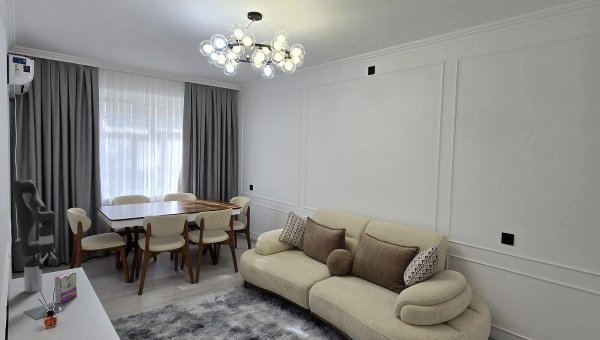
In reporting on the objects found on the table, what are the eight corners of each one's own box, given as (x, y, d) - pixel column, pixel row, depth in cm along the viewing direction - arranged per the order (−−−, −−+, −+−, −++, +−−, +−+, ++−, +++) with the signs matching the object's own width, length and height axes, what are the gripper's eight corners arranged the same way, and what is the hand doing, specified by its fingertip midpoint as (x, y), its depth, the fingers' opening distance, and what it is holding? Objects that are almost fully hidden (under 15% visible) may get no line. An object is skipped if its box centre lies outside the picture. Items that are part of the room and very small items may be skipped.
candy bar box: (70, 295, 215) (70, 271, 214) (76, 296, 214) (76, 271, 213) (54, 303, 204) (54, 277, 203) (61, 304, 203) (60, 278, 202)
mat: (24, 312, 192) (24, 311, 192) (51, 303, 204) (51, 302, 204) (36, 319, 184) (36, 319, 184) (64, 309, 196) (64, 309, 196)
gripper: (52, 239, 219) (53, 263, 220) (30, 245, 205) (31, 270, 206) (61, 239, 218) (62, 263, 218) (40, 245, 204) (41, 271, 204)
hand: (47, 267), depth 212 cm, fingers open, 8 cm apart
